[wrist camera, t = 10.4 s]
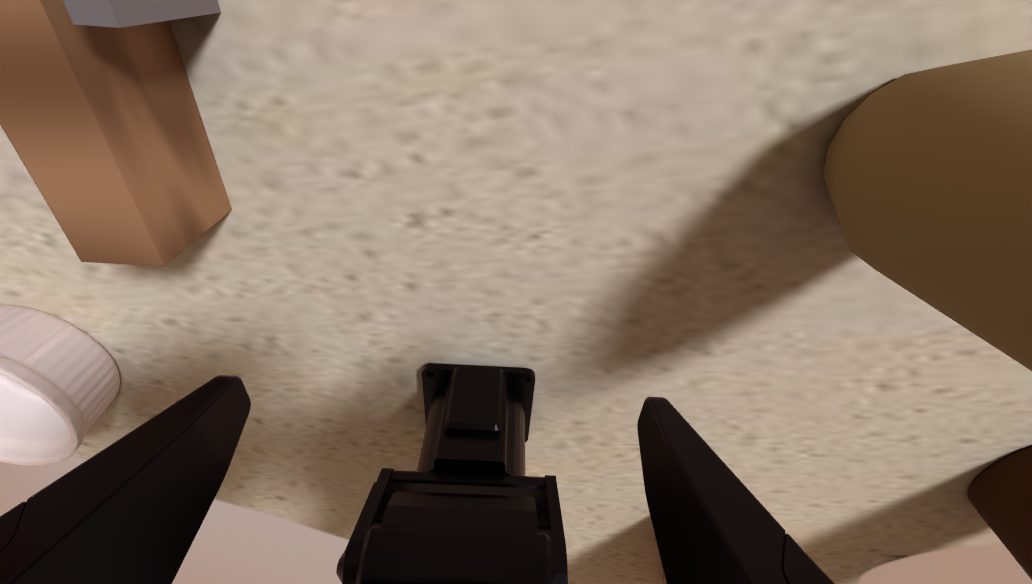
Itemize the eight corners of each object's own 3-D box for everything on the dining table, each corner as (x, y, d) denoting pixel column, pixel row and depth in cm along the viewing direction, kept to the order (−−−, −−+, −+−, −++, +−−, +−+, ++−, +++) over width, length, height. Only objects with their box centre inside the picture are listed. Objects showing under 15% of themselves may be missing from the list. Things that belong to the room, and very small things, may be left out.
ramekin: (-39, 370, 27) (-123, 430, 24) (-50, 265, 23) (-155, 319, 19) (124, 423, 30) (72, 483, 26) (143, 338, 25) (82, 398, 22)
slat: (233, 207, 21) (164, 266, 17) (167, 204, 21) (81, 261, 17) (114, -153, 14) (-55, -203, 10) (13, -161, 14) (-200, -215, 10)
